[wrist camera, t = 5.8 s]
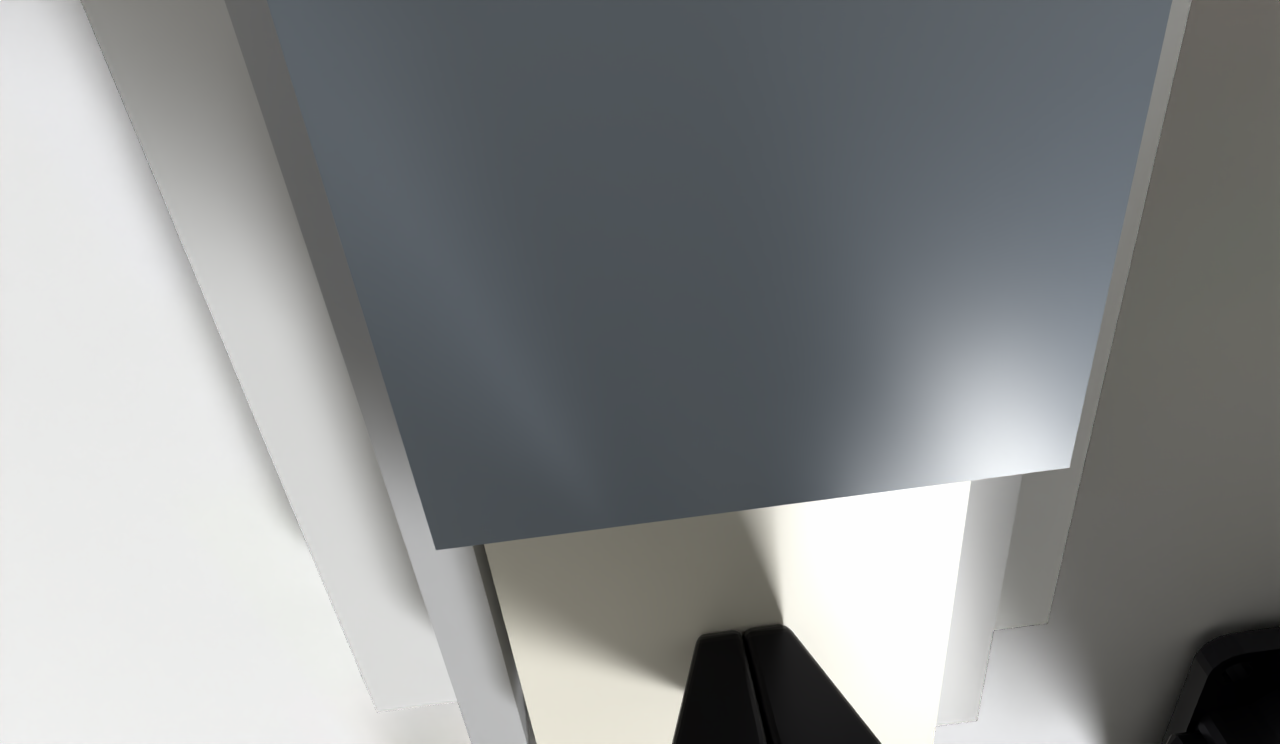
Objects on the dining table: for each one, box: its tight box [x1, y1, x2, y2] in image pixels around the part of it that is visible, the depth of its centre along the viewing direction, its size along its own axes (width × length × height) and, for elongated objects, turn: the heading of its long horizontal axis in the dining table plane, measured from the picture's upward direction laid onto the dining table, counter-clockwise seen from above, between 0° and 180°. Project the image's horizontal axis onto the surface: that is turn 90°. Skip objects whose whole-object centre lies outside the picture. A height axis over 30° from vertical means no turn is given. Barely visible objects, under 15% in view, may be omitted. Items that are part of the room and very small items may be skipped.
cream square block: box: [484, 481, 971, 744], centre depth 10 cm, size 4×4×2 cm
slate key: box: [267, 0, 1172, 550], centre depth 6 cm, size 4×4×2 cm
